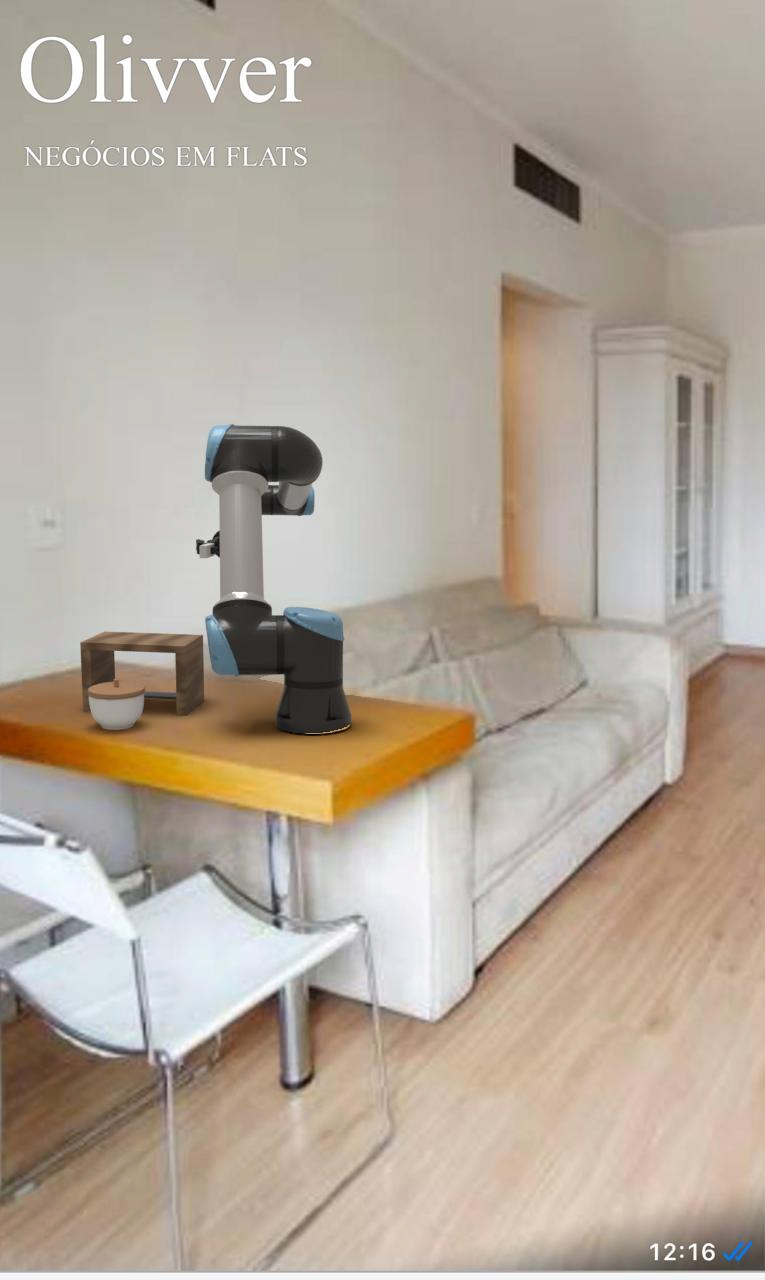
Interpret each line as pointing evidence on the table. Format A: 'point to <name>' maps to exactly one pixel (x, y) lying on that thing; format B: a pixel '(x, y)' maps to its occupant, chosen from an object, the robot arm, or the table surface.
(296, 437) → the robot arm
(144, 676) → the table surface
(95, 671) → the tunnel
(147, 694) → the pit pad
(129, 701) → the lidded jar
